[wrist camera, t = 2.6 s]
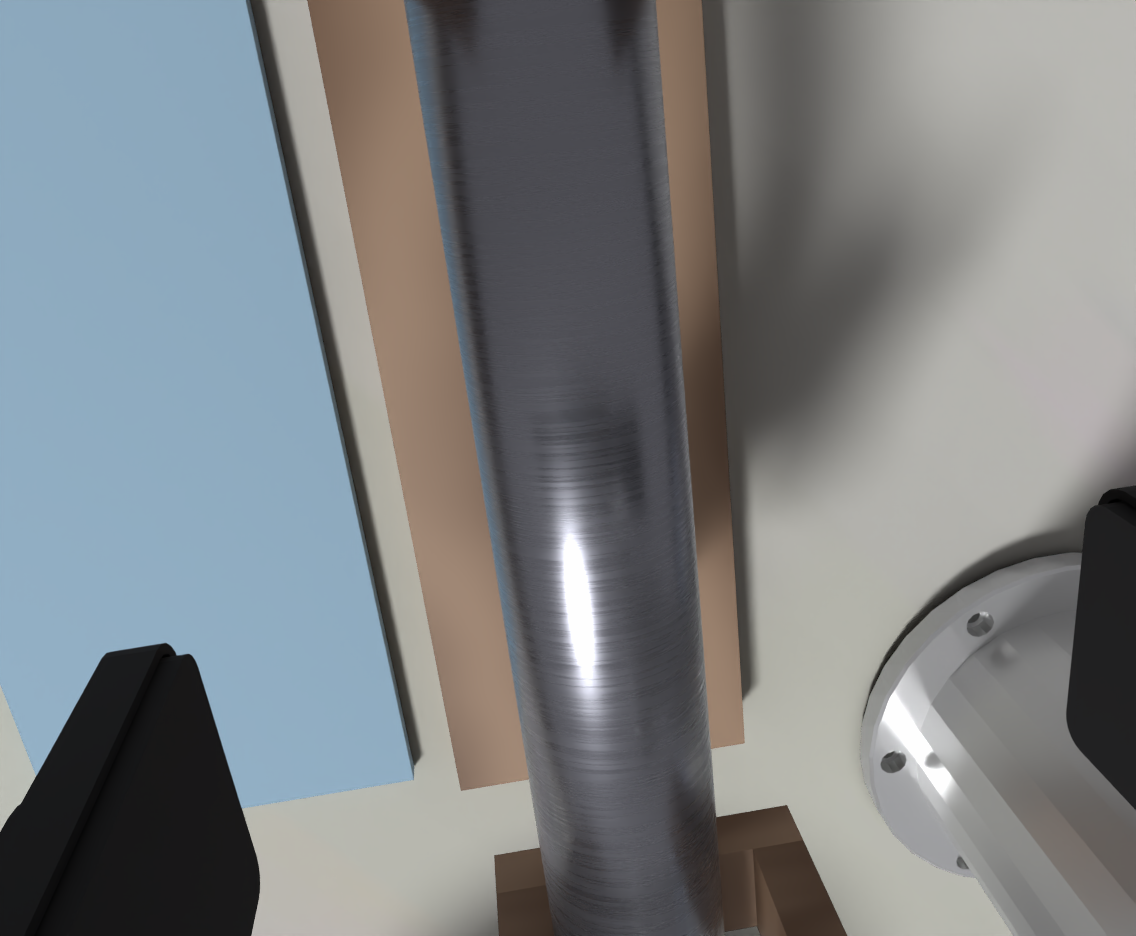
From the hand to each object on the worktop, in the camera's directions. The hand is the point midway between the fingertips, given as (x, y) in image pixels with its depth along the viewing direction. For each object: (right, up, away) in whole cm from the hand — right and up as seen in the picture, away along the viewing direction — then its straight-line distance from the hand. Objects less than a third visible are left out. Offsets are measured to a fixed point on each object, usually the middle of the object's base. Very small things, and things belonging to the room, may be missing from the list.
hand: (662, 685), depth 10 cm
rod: (0, +2, +6) cm, 6 cm away
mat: (-13, +6, +15) cm, 21 cm away
